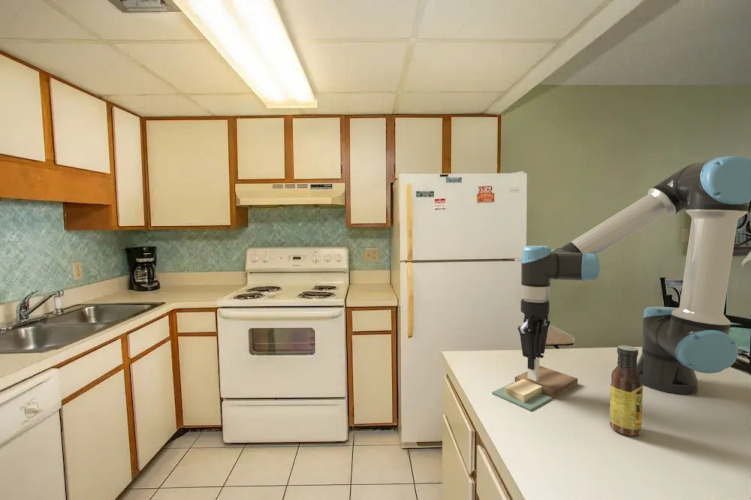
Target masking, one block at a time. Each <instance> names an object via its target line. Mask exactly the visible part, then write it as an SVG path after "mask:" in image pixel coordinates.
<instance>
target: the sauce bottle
mask: <svg viewBox="0 0 751 500" xmlns="http://www.w3.org/2000/svg"><path fill="white" fill-rule="evenodd" d="M616 348H617V349H616V353H617V363H616V364H617V365H616V367H614V369H613V370H612V372H611V376H610V377H611V383H610V389H609V390H610V391H609V395H610V396H609V397H610V398H609V425H610V428H611V429H612V430H614V432H616V433H619V434H621V435H625V436H627V437H628V436H629V437H634V436H635V437H636V436H637V437H638V436H639V435H640V433H641V430H642V419H643V418H642V417H643V401H644V399H643V397H644V395H643V393H644V391H643V390H644V385H643V382H642V379H641V377H640V374H639V371H638V368H637V363H638V357H639V356H638V355H639V349H638V348H637V347H635V346H630V345H617V347H616Z"/></svg>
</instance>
